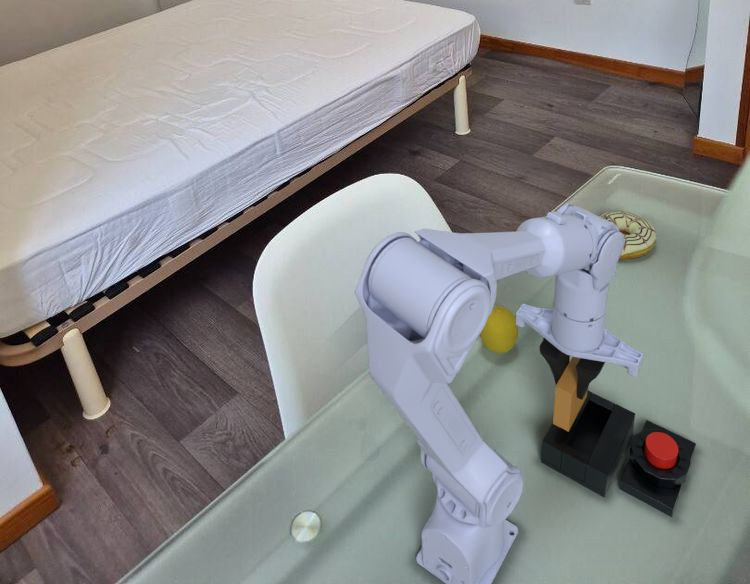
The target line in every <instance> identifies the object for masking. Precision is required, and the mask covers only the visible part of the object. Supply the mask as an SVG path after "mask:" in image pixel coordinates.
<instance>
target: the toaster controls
mask: <svg viewBox="0 0 750 584" xmlns="http://www.w3.org/2000/svg"><path fill="white" fill-rule="evenodd" d="M653 432H661V433H665V434H667V435H669V436H670V437H671V438H672V439H674V441H675V442H676V444H677V446H678V456H677V461H676V464H675V465H674V466H673V467H672V468H669V469H661V468H657V467H655V466H654V465H652V464H651V463H650V462H649V461H648V460H647V458H646V456H645V453H644V448H645V442H646V438H647V436H648V435H649V434H651V433H653ZM696 447H697V443H696V442H695V441H693V440H690V439H688V438H686V437H684V436H682V435H680V434H677V433H675V432H673V431H671V430H669V429H667V428H666V427H663V426H661V425H658V424H656V423H654V422H652V421H650V420H648V419H646V420H645V421H644V424H643V427H642V430H641V431H639V432H637V433H636V434H635V435H634V436H633V439H632V441H631V443H630V448H629V460H628V462H627V464H626V467H625V469H624V471H623V474H622V476H621V478H620V481H619V487H618V488H619V490H621V491H622V492H623V493H626V494H628V495H630V496H632V497H633V498H635V499H637V500H639V501H641V502H643V503H644V504H646V505H648V506H650V507H652V508H654V509H655V510H658V511H659V512H660V513H663V514H665V515H666V516H668V517H670V518H672V517H673V515H674V512H675V509H676V506H677V503H678V501H679V497H680V494H681V491H682V488H683V486H684V483H686V481H687V479H688V476H689V473H690V469H691V465H692V460H693V457H694V453H695V451H696Z"/></svg>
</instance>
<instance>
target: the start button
mask: <svg viewBox="0 0 750 584" xmlns="http://www.w3.org/2000/svg"><path fill="white" fill-rule="evenodd" d="M644 453H645V456H646V458H647V460H648V461H649V462H650V463H651V464H652V465H654V466H655V467H657V468H661V469H669V468H672V467H673V466H674V465H675V464H676V461H677V456H678V446H677V444H676V442H675V441H674V439H672V438H671V437H670V436H669V435H667V434H665V433H661V432H653V433H651V434H649V435H648V436H647V438H646V442H645V448H644Z"/></svg>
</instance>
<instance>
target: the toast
mask: <svg viewBox="0 0 750 584" xmlns="http://www.w3.org/2000/svg"><path fill="white" fill-rule="evenodd" d="M579 360H580V358H577V357H572V356H571V357H570V362H569V364H568V365H567V367H566V369H565V371H564V372H563V374H562V376H561V378H560V379H559V381H558V383H557V385H556V384H555V386H554V387H555V389H554V402H553V403H554V404H553V415H552V418H553V419H552V420H553V421H552V423H553V424H554V425H556V426H558V427H560V428H562V429H564V430H566V431H568V432H569V430H570V428H571V426H572V424H573V422H574V420H575V418H576V416H577V414H578V412H579V411H580V409H581V407H582V405H583V403H584V401H585V399H586V397H587V392H586V394H585V396H584V398H583V399H582V400H581V399H579V398H577V394H576V391H577V385H578V374H577V370H576V365H577V364H578V362H579Z"/></svg>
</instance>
